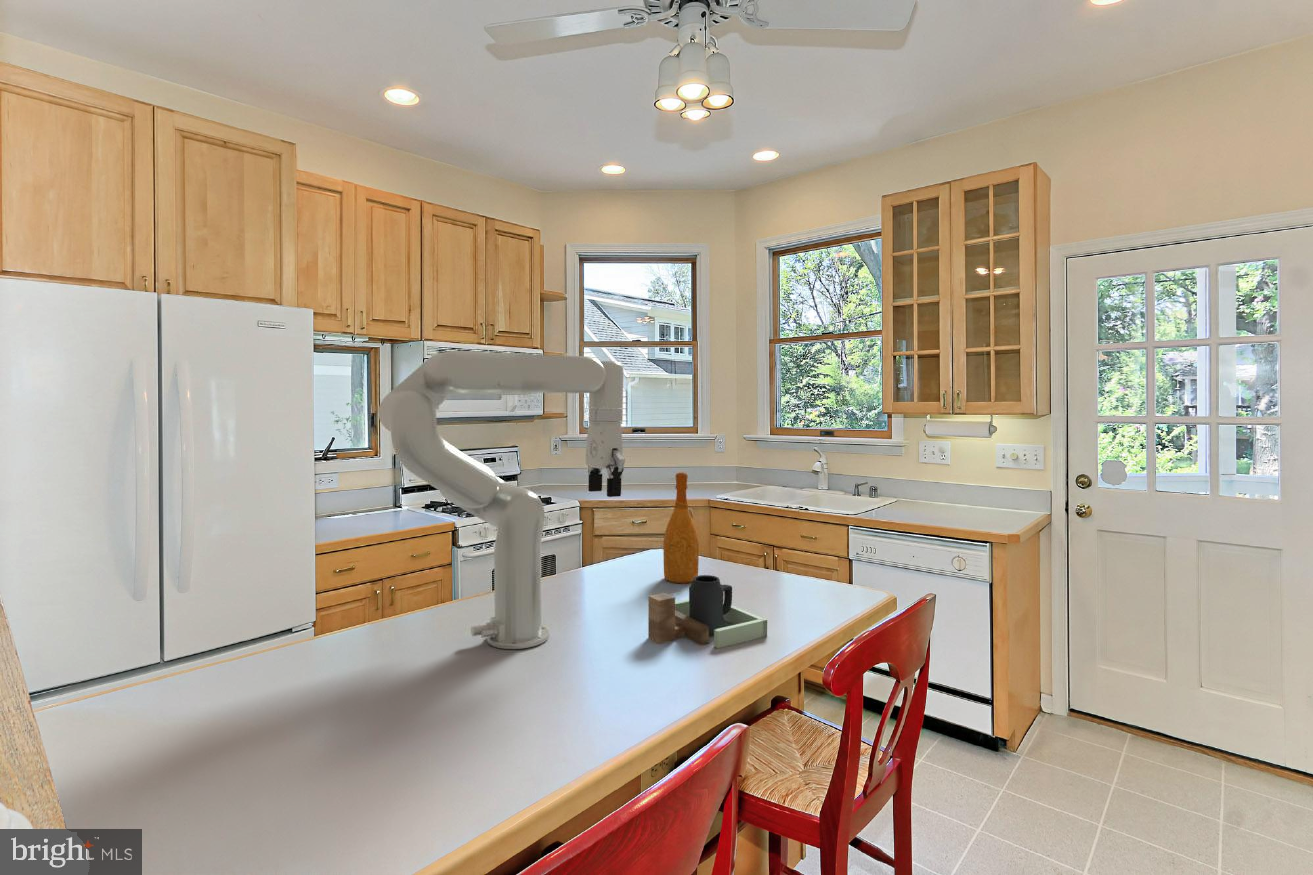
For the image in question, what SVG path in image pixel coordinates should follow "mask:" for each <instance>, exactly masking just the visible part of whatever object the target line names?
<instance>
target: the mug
mask: <svg viewBox="0 0 1313 875" xmlns="http://www.w3.org/2000/svg"><path fill="white" fill-rule="evenodd" d="M688 600H689V605H690V615H689V616H688V617H690V618H692V619H694V620H696V621H699V622H701V623H703V624H705V625H707V626H709V638H710V637H711V638H712V637H714V630H715V629H719V628H723V627H727V624H726V620H724V618H723V615H724V614H726V613H728V612H729V611H730V608H731V605H732V604H733V586H732V585H729V584H722V583H721V581H720V578H719V577H718V576H714V575H709V574H704V575H703V574H700V575H698V576H696V577H694V578H693V582H691V584H690V585H689V588H688ZM723 602H724V604H723Z"/></svg>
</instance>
